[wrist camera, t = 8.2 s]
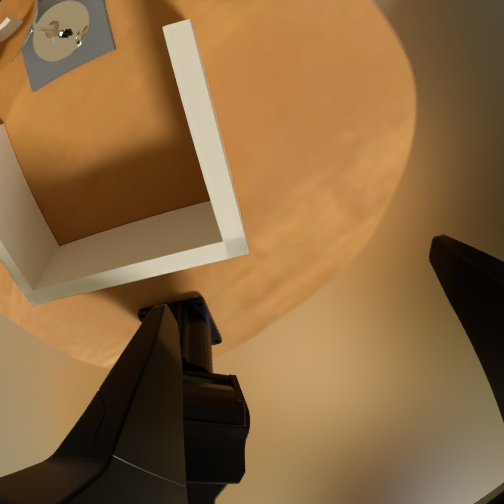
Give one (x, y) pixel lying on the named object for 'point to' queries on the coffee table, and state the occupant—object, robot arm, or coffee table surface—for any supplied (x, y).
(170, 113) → the coffee table surface
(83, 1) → the felt mat
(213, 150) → the corner wall
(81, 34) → the wineglass
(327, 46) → the coffee table surface
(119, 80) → the coffee table surface
